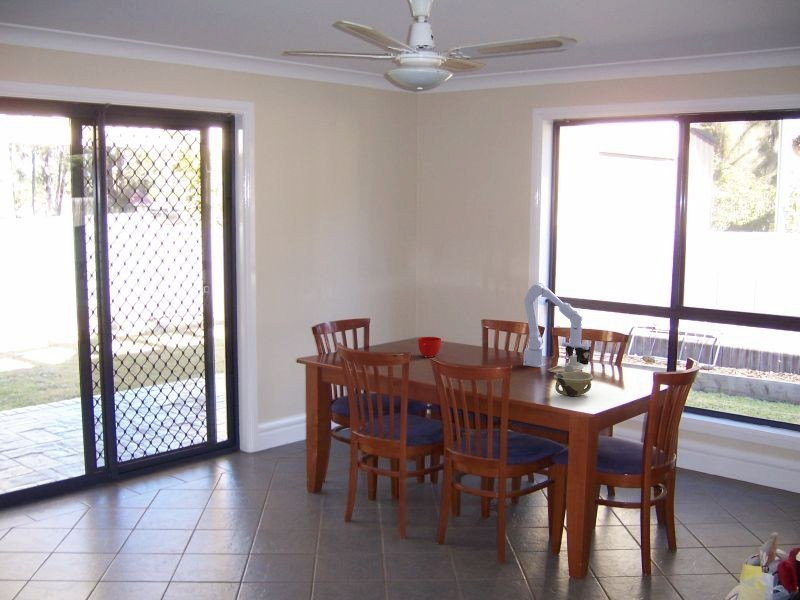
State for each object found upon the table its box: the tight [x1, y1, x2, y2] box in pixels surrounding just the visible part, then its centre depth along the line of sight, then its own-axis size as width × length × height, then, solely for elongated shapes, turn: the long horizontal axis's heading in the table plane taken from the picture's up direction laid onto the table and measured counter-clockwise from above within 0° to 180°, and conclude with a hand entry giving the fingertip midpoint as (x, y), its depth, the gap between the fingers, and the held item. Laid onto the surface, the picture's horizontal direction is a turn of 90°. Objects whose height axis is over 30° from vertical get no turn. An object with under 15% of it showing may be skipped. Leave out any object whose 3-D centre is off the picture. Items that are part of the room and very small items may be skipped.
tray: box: [547, 365, 583, 374], centre depth 414 cm, size 14×11×2 cm
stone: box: [564, 364, 574, 372], centre depth 410 cm, size 4×3×4 cm
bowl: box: [553, 371, 594, 397], centre depth 369 cm, size 18×18×10 cm
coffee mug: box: [574, 343, 592, 366], centre depth 435 cm, size 12×9×10 cm
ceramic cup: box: [417, 336, 442, 358], centre depth 449 cm, size 13×17×10 cm
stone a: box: [568, 354, 579, 366], centre depth 422 cm, size 4×4×5 cm
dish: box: [565, 362, 585, 370], centre depth 423 cm, size 9×9×2 cm
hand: (574, 361), depth 423 cm, fingers closed on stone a, 4 cm apart
